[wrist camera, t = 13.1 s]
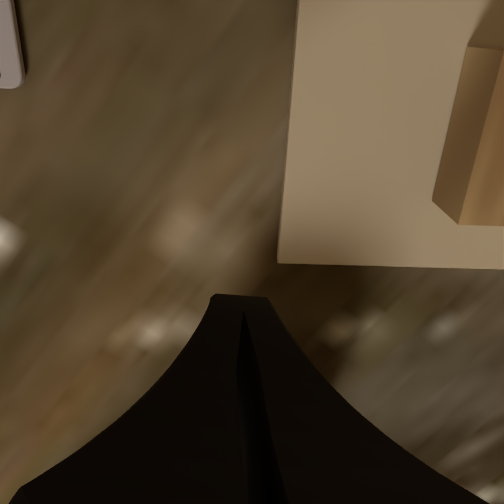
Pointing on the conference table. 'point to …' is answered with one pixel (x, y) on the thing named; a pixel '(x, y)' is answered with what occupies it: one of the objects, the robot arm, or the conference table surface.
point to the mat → (379, 133)
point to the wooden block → (475, 144)
